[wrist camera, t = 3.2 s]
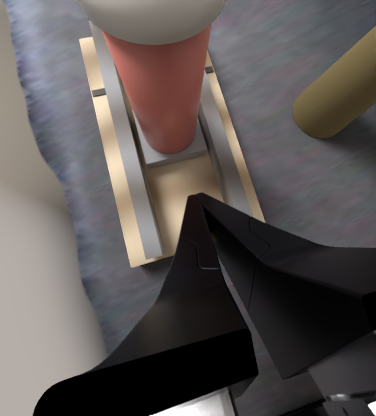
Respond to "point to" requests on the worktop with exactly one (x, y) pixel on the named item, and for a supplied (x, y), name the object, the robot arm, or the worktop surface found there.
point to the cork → (339, 91)
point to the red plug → (160, 68)
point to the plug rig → (166, 174)
